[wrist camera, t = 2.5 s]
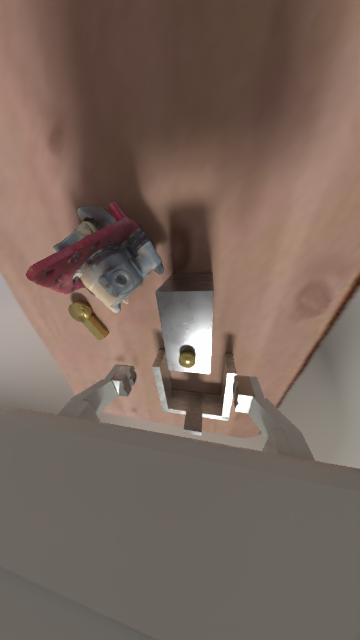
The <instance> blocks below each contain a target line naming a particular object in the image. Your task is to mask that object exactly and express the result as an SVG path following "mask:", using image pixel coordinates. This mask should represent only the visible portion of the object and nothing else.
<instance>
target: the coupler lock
mask: <svg viewBox="0 0 360 640" xmlns="http://www.w3.org/2000/svg"><path fill="white" fill-rule="evenodd" d="M213 297H214V288H213V274H212V272H208V273H182V274H172V275H171V276H170V277H169V278H168V279H167V280H166V281H165V282H164V283H163V285H162V286H161V287H160V288H159V289H158V290H157V291H156V298H157V304H158V310H159V316H160V322H161V328H162V334H163V340H164V346H165V352H166V358H167V364H168V370H173V371H183V372H194V373H205V374H210V365H211V342H212V319H213Z"/></svg>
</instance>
